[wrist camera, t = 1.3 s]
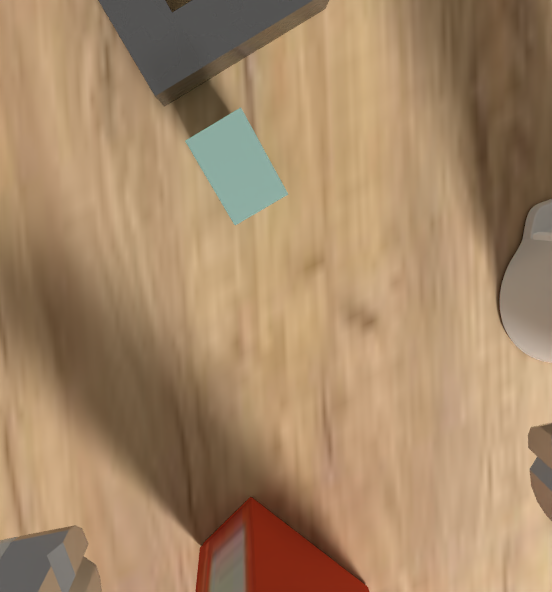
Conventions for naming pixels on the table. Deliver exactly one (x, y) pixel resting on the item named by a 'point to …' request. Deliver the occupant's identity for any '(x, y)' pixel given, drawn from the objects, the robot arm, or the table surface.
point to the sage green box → (237, 166)
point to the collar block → (199, 36)
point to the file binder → (267, 558)
